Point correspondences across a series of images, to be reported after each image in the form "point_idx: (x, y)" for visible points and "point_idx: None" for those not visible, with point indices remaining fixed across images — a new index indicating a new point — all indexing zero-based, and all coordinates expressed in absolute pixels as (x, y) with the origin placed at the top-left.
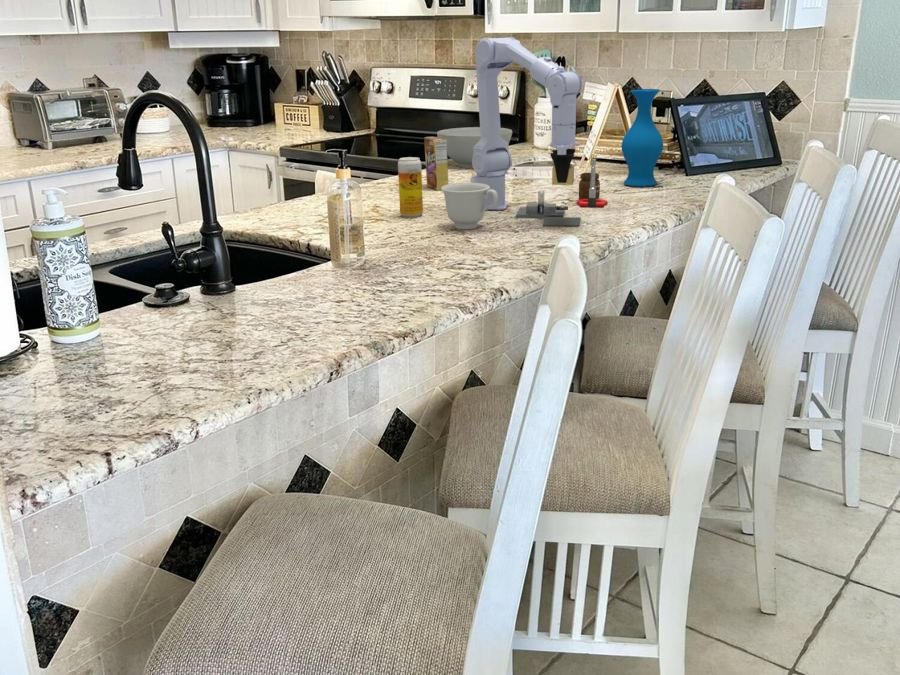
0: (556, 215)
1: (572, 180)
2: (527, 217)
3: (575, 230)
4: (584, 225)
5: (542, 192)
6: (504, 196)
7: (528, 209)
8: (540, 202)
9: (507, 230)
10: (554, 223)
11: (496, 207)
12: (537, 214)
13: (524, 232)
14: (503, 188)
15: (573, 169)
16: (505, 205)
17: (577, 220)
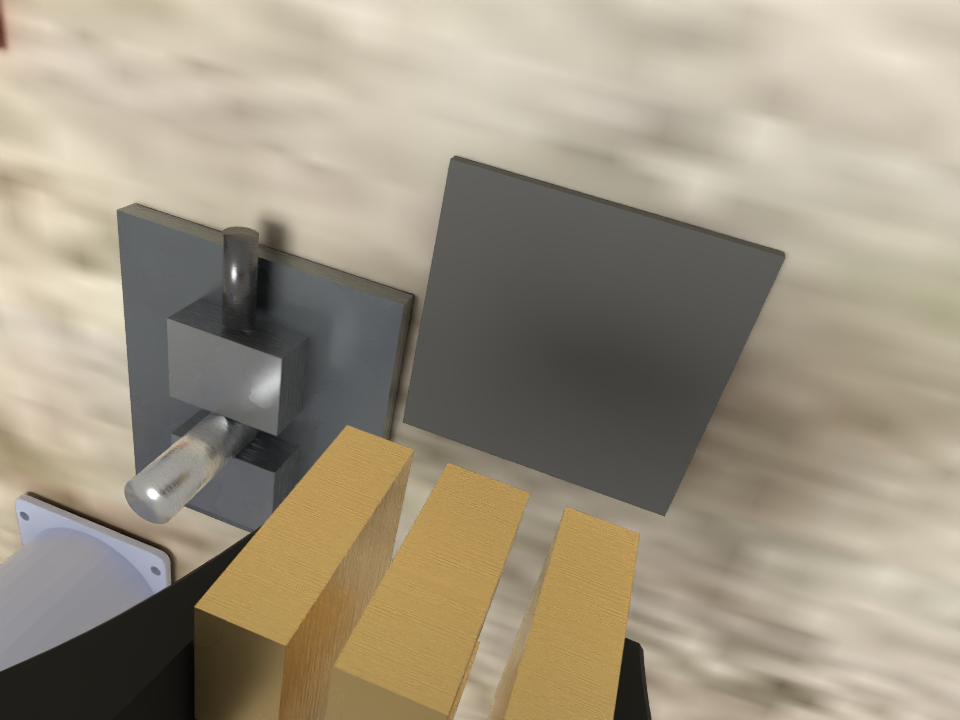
0: (397, 351)
1: (630, 587)
2: None
3: (925, 327)
4: (735, 189)
5: (173, 497)
6: (56, 583)
7: None
8: (228, 459)
9: (723, 714)
10: (648, 431)
11: (150, 589)
12: None
13: (826, 662)
14: (23, 634)
15: (418, 648)
16: (91, 533)
17: (574, 222)
